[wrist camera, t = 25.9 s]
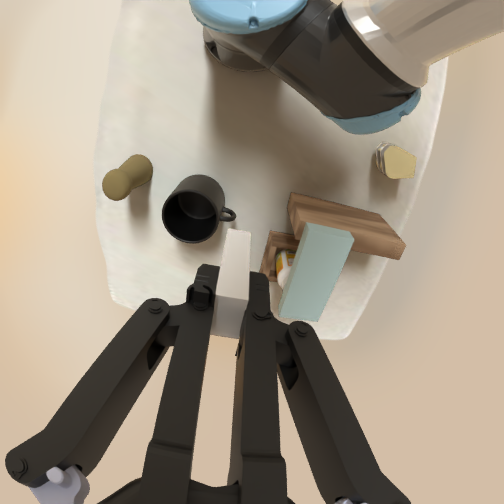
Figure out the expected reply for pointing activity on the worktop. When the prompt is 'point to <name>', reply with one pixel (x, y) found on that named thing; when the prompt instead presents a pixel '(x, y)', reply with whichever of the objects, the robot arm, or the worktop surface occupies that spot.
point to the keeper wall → (346, 224)
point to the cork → (127, 177)
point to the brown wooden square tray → (276, 252)
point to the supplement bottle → (284, 265)
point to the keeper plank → (314, 271)
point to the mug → (195, 209)
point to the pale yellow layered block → (395, 161)
